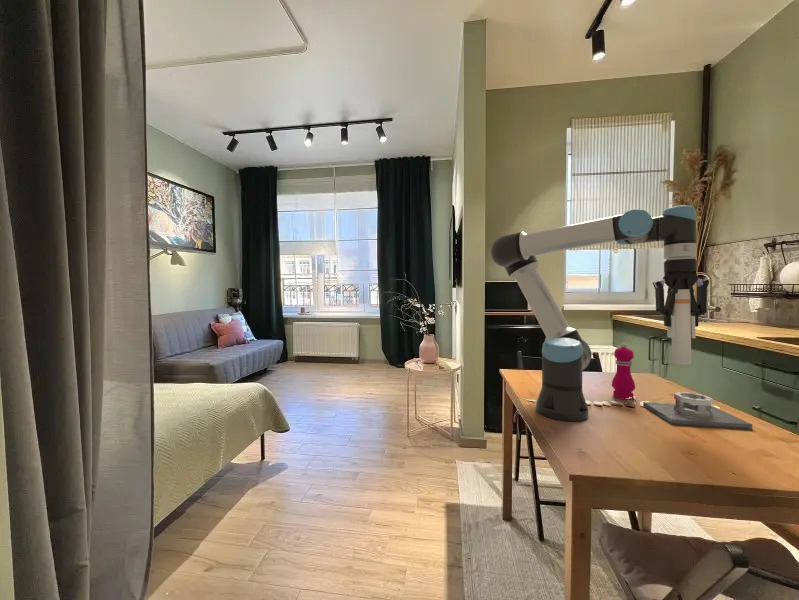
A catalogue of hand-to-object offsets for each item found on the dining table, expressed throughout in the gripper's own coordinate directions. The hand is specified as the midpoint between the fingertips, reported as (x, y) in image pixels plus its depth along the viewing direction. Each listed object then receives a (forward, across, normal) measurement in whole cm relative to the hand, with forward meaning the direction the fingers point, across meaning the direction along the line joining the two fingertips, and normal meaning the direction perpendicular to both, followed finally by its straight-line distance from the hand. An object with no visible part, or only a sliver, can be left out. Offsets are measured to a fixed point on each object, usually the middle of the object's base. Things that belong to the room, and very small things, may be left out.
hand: (681, 337), depth 100 cm
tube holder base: (+25, +6, +6) cm, 27 cm away
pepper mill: (+25, -7, +23) cm, 35 cm away
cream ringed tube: (+8, 0, 0) cm, 8 cm away
